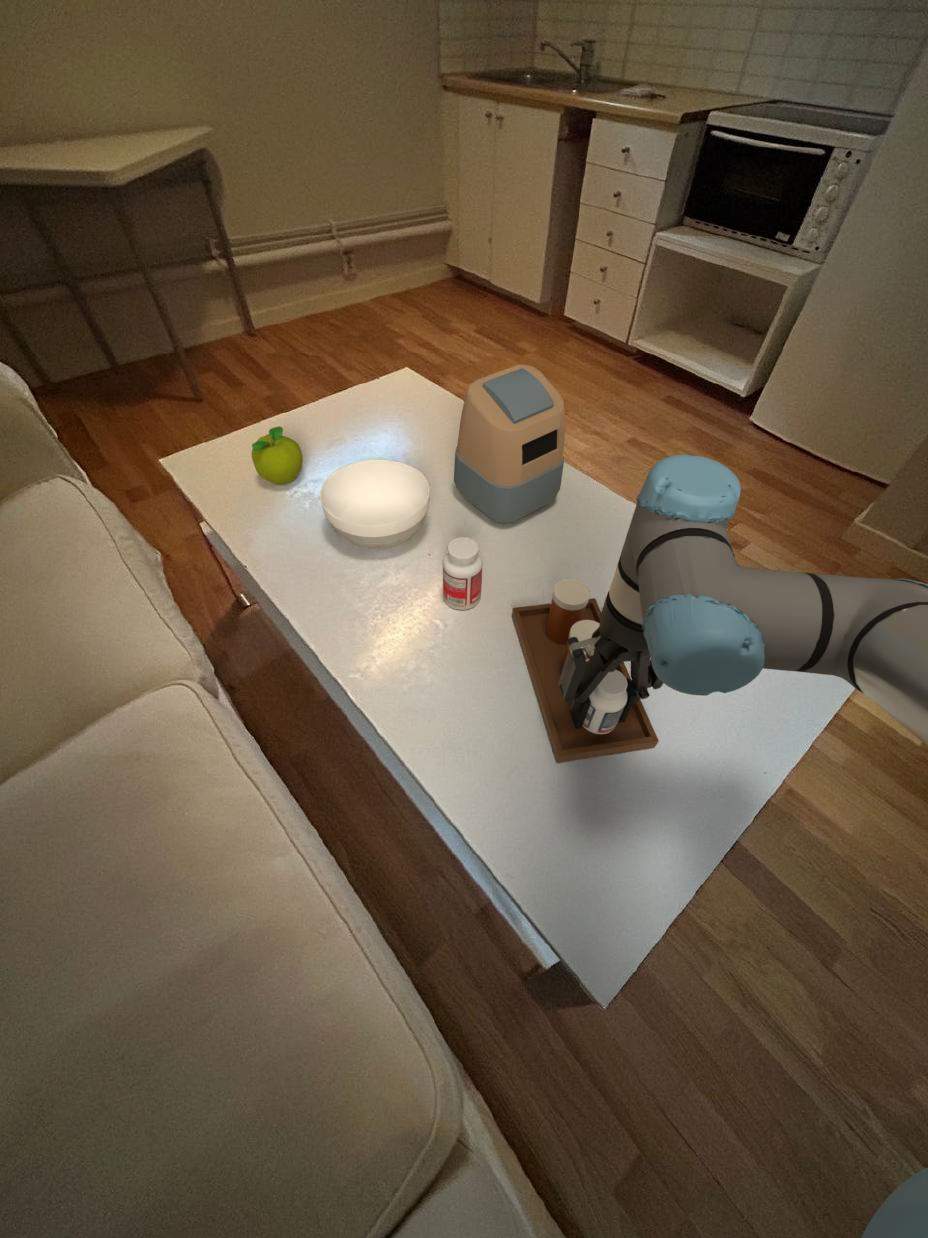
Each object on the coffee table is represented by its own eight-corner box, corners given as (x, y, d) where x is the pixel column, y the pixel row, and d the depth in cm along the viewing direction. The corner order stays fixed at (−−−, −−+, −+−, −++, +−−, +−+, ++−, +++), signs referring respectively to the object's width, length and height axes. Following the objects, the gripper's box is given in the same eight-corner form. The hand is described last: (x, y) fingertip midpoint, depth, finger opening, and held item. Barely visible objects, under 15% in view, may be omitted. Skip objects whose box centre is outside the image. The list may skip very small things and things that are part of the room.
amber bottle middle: (600, 686, 78) (615, 647, 71) (565, 691, 77) (576, 652, 70) (588, 657, 81) (601, 617, 74) (555, 662, 80) (565, 622, 73)
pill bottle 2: (620, 710, 74) (638, 673, 67) (610, 741, 71) (628, 705, 64) (583, 695, 75) (596, 658, 68) (572, 725, 72) (584, 689, 65)
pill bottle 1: (474, 580, 91) (476, 530, 83) (485, 606, 88) (489, 556, 79) (438, 588, 90) (437, 537, 82) (448, 614, 86) (448, 564, 78)
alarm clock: (501, 537, 99) (513, 419, 81) (445, 492, 107) (445, 377, 89) (565, 502, 106) (588, 387, 88) (508, 463, 114) (519, 350, 96)
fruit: (250, 487, 107) (235, 442, 99) (278, 462, 112) (265, 417, 105) (289, 499, 105) (277, 453, 97) (316, 473, 110) (306, 428, 103)
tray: (654, 748, 72) (659, 740, 70) (556, 763, 70) (558, 756, 69) (592, 606, 88) (595, 598, 87) (511, 616, 87) (512, 607, 85)
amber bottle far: (582, 642, 83) (595, 602, 76) (549, 647, 82) (559, 606, 75) (572, 617, 86) (583, 576, 79) (540, 621, 85) (549, 580, 78)
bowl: (408, 488, 108) (406, 449, 101) (448, 547, 97) (448, 507, 90) (315, 513, 102) (306, 473, 95) (346, 577, 91) (338, 538, 85)
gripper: (711, 566, 59) (650, 684, 76) (547, 584, 56) (524, 702, 74) (745, 618, 54) (672, 731, 72) (569, 640, 52) (538, 752, 69)
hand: (597, 716), depth 73 cm, fingers closed on pill bottle 2, 5 cm apart
